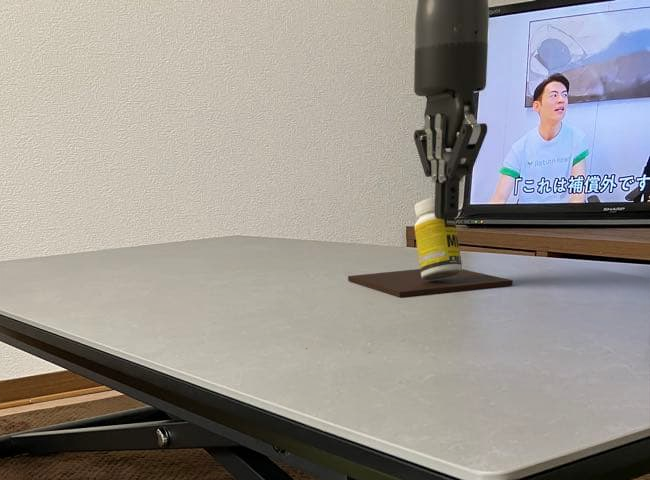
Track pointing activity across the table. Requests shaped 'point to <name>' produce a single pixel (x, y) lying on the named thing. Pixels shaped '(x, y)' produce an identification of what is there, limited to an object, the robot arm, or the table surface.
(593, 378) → the table surface
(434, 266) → the supplement bottle
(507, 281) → the mat
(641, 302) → the table surface
